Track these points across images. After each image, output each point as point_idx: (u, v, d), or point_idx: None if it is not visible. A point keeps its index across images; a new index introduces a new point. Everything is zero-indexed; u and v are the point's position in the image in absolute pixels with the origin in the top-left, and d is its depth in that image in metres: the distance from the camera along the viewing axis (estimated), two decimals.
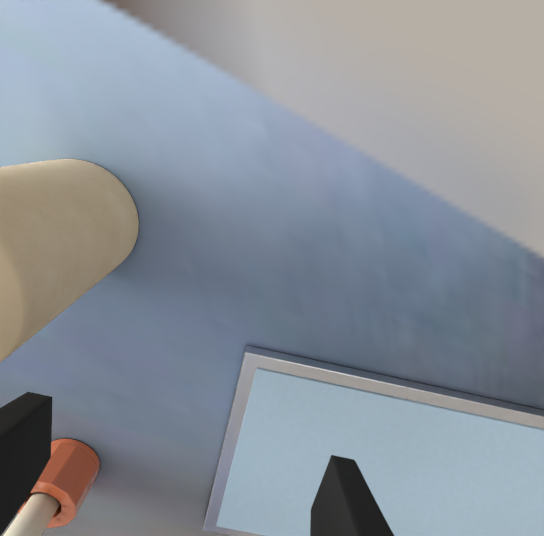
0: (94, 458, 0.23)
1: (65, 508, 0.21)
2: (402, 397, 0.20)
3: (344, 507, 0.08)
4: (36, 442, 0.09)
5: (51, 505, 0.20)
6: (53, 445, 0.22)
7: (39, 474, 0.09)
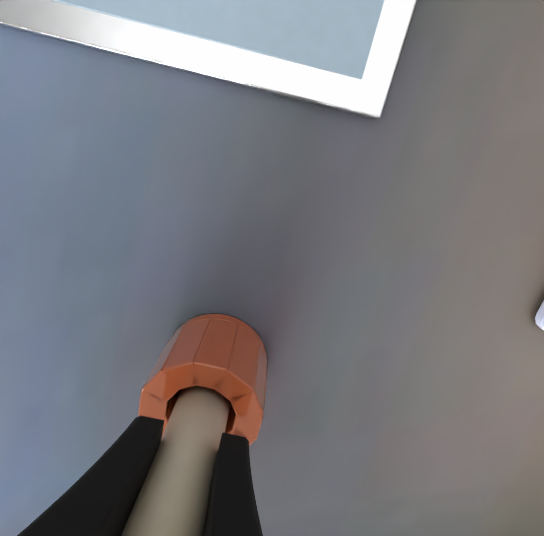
0: (197, 319, 0.13)
1: (202, 380, 0.10)
2: None
3: (214, 481, 0.08)
4: None
5: (184, 401, 0.10)
6: None
7: None
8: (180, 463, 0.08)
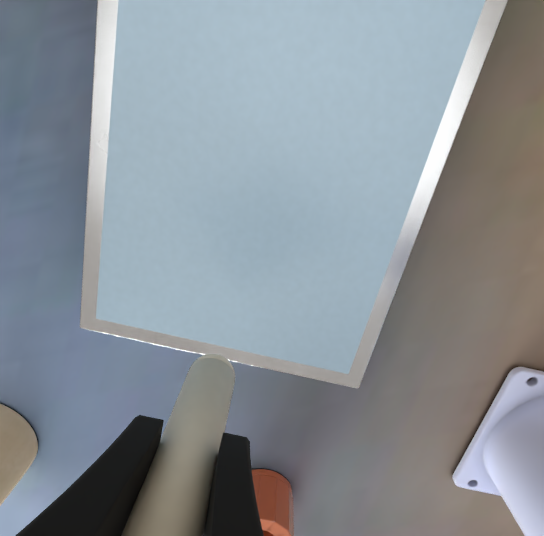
0: None
1: None
2: (105, 145, 0.15)
3: (215, 481, 0.08)
4: None
5: (184, 402, 0.10)
6: None
7: None
8: (179, 464, 0.08)
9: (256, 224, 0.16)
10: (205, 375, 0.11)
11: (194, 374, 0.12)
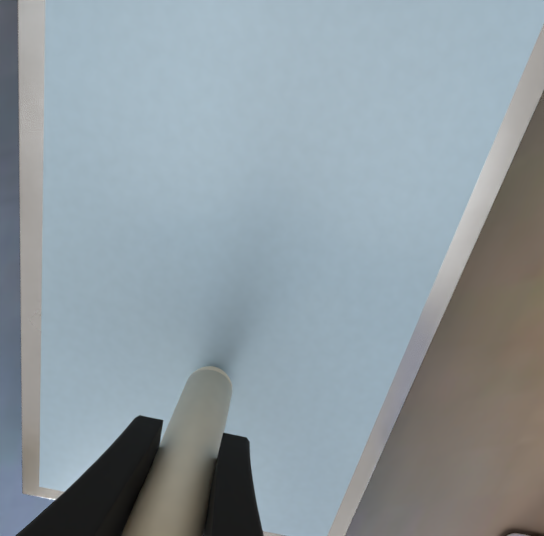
0: None
1: None
2: (38, 322, 0.13)
3: (215, 481, 0.08)
4: None
5: (182, 409, 0.10)
6: None
7: None
8: (179, 465, 0.08)
9: None
10: (203, 385, 0.12)
11: (192, 385, 0.12)
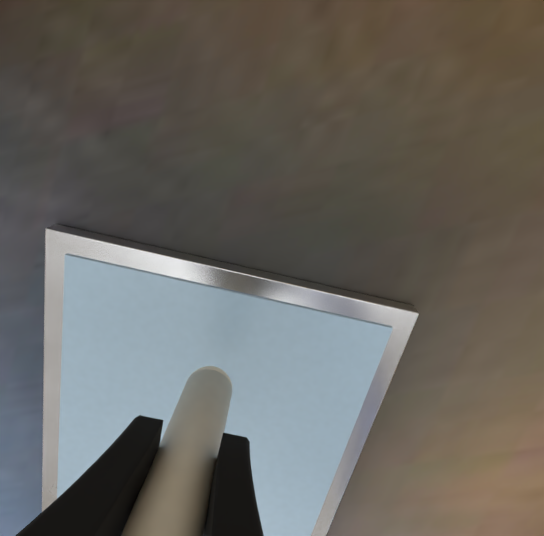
0: None
1: None
2: (55, 491, 0.18)
3: (215, 481, 0.08)
4: None
5: (182, 409, 0.10)
6: None
7: None
8: (179, 464, 0.08)
9: None
10: (203, 385, 0.12)
11: (192, 385, 0.12)
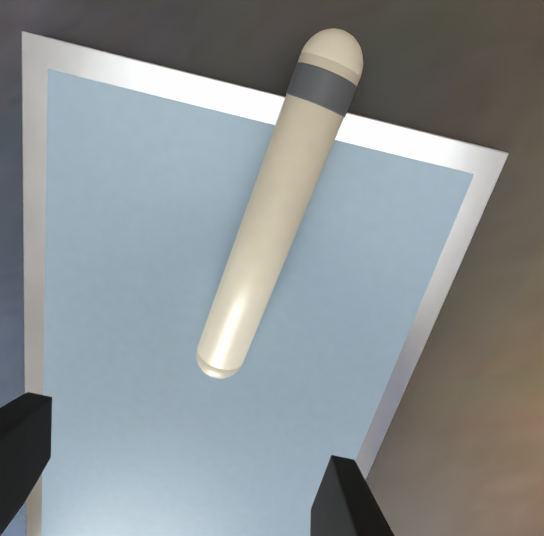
0: None
1: None
2: None
3: (344, 507, 0.08)
4: (36, 442, 0.09)
5: None
6: None
7: (39, 474, 0.09)
8: None
9: (198, 478, 0.16)
10: None
11: None
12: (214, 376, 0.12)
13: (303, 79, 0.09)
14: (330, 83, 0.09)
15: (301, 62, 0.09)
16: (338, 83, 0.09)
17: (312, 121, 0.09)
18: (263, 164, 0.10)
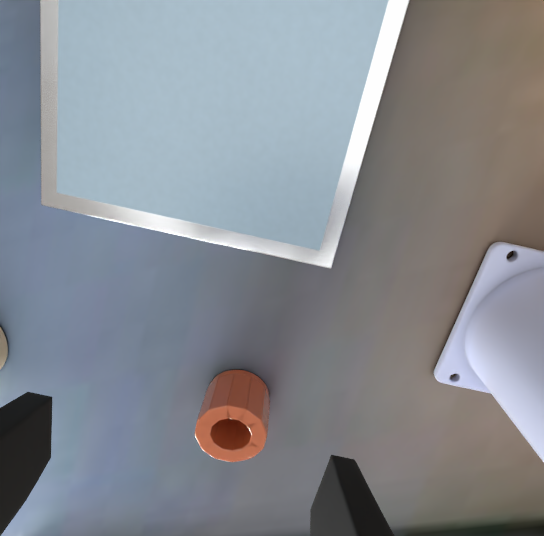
0: (226, 373, 0.21)
1: (232, 415, 0.18)
2: None
3: (344, 507, 0.08)
4: (36, 442, 0.09)
5: None
6: None
7: (39, 474, 0.09)
8: None
9: (216, 77, 0.15)
10: None
11: None
12: None
13: None
14: None
15: None
16: None
17: None
18: None
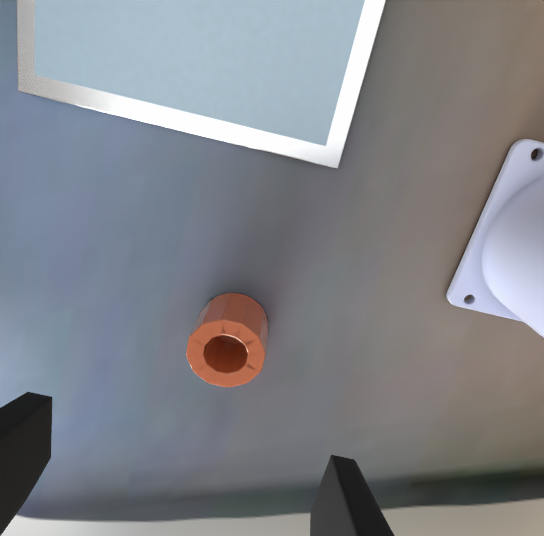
0: (221, 296, 0.19)
1: (227, 331, 0.17)
2: None
3: (344, 507, 0.08)
4: (36, 442, 0.09)
5: None
6: None
7: (39, 474, 0.09)
8: None
9: None
10: None
11: None
12: None
13: None
14: None
15: None
16: None
17: None
18: None
